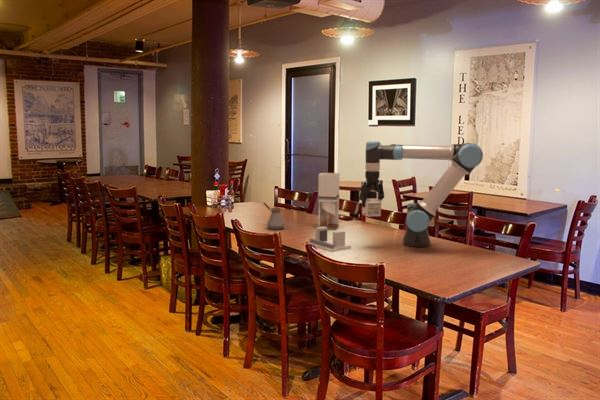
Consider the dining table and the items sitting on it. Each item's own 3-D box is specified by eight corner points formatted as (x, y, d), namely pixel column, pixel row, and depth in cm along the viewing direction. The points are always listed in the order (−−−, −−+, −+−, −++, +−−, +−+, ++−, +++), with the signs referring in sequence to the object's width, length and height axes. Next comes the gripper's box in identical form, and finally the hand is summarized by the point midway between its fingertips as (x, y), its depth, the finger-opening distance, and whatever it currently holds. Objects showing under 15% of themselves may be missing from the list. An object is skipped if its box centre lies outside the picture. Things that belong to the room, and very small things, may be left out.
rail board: (351, 248, 283) (351, 230, 281) (331, 251, 274) (331, 234, 273) (328, 241, 298) (328, 225, 296) (308, 245, 289) (309, 228, 288)
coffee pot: (288, 229, 332) (288, 206, 329) (272, 231, 325) (272, 207, 323) (271, 224, 349) (271, 201, 347) (255, 225, 343) (255, 203, 341)
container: (367, 216, 278) (368, 192, 276) (362, 214, 285) (362, 190, 283) (381, 216, 280) (381, 191, 278) (375, 213, 287) (375, 190, 285)
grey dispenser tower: (317, 229, 332) (318, 174, 327) (321, 226, 342) (321, 172, 337) (335, 230, 329) (336, 174, 324) (338, 227, 340) (339, 173, 335)
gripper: (381, 169, 289) (380, 209, 292) (352, 171, 275) (351, 213, 279) (392, 170, 283) (390, 211, 286) (362, 172, 269) (361, 215, 273)
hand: (371, 212), depth 282 cm, fingers closed on container, 9 cm apart
